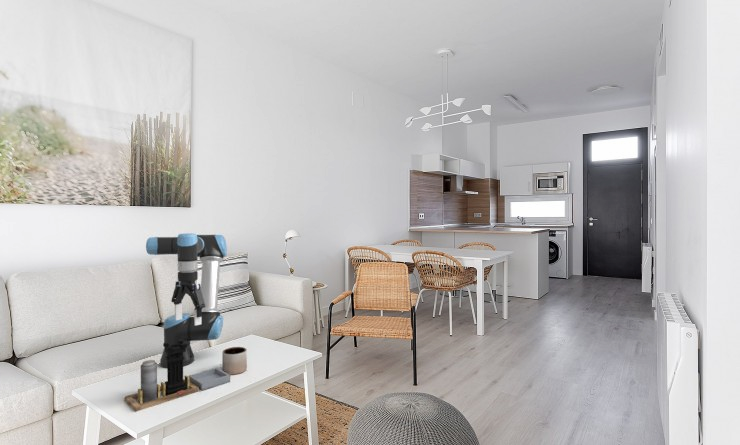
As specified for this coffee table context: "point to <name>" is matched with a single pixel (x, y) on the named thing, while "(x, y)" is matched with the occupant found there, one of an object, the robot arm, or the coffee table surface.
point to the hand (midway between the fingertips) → (188, 322)
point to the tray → (209, 379)
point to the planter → (234, 360)
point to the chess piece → (175, 367)
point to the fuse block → (154, 389)
